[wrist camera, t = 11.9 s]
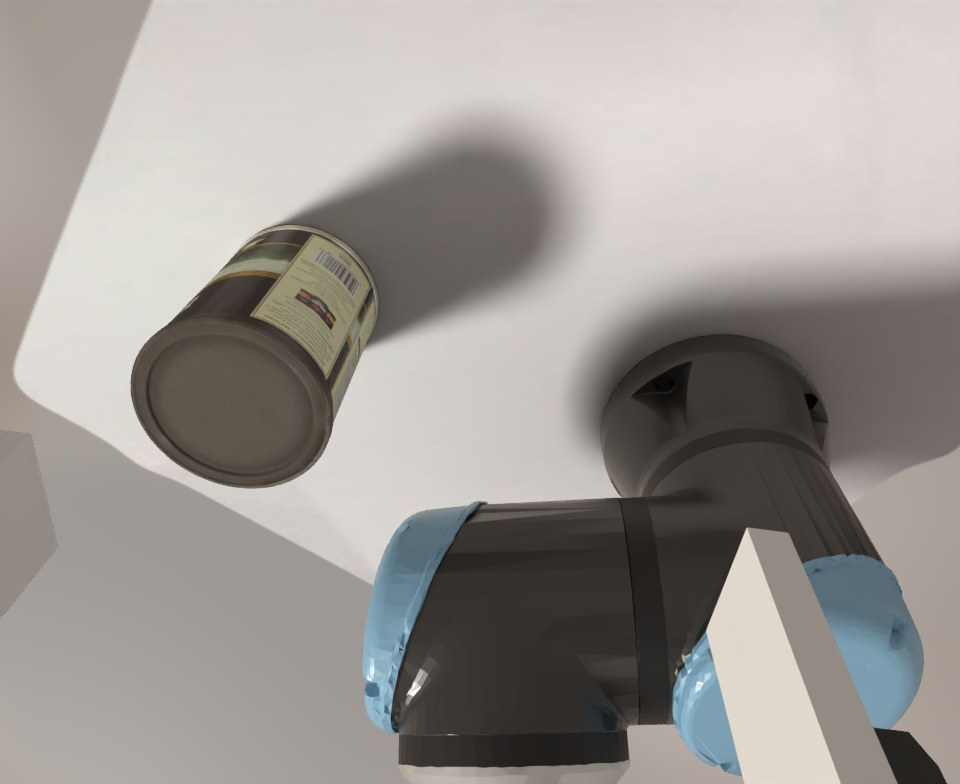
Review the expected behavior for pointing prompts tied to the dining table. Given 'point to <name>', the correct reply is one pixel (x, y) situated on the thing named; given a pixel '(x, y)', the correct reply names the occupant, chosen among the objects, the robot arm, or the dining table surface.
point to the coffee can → (258, 360)
